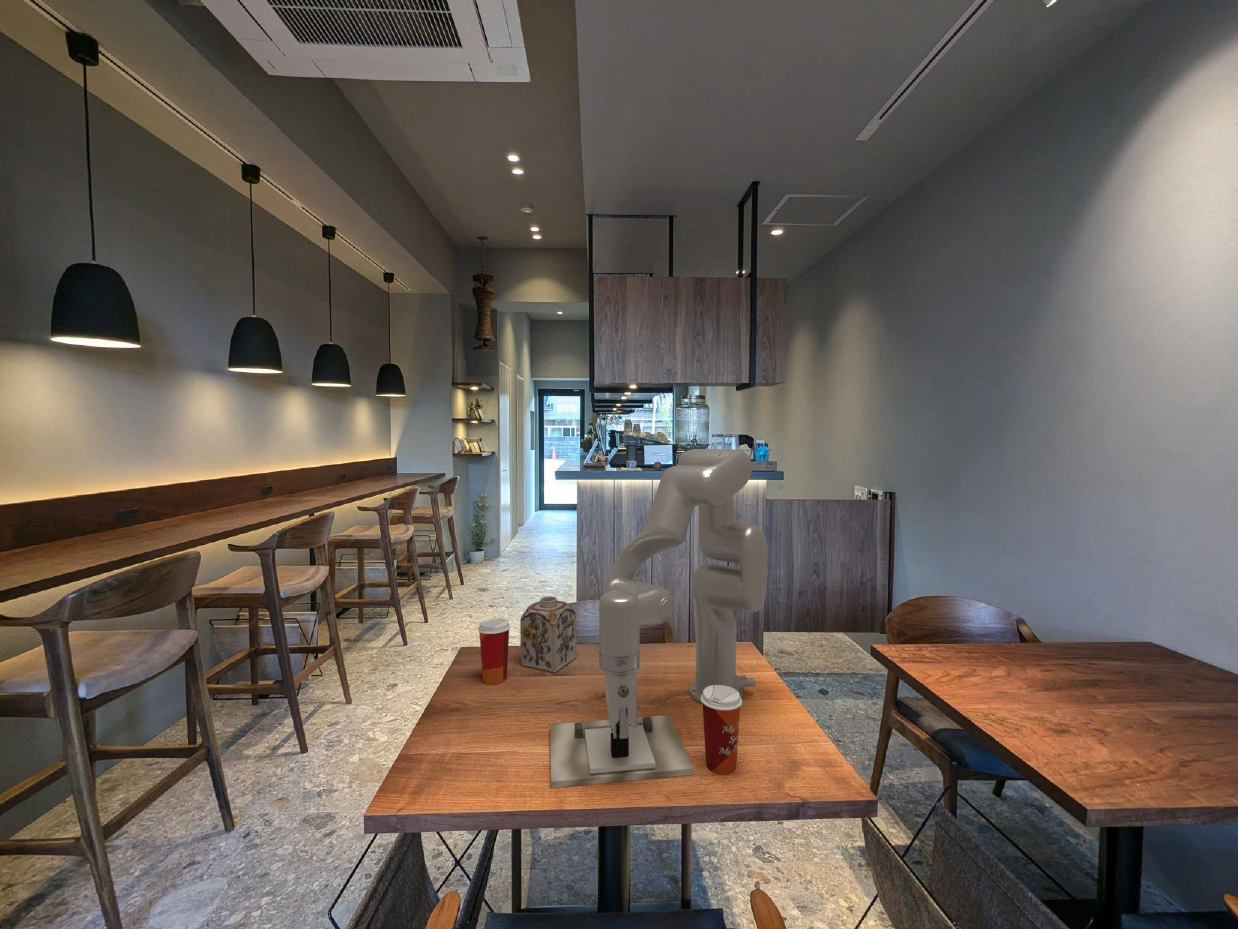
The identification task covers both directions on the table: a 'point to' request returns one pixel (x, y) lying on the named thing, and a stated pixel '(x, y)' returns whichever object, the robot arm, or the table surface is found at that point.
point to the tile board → (574, 771)
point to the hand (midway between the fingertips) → (619, 755)
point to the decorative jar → (548, 635)
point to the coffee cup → (494, 649)
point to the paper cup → (721, 727)
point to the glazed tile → (601, 750)
